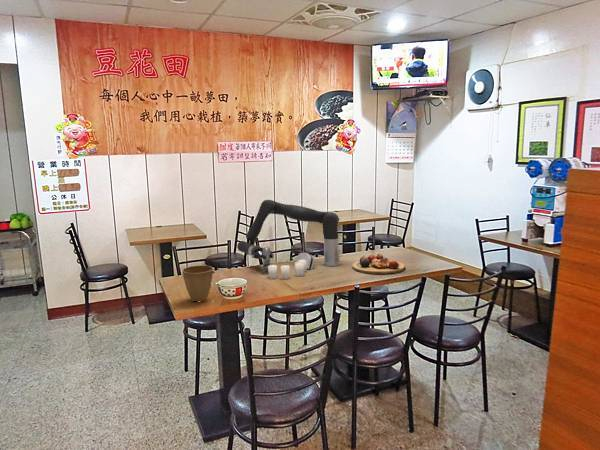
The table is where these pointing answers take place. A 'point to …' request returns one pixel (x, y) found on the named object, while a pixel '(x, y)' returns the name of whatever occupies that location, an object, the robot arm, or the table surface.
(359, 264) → the wooden plate with food
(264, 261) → the bushing
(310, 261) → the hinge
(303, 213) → the robot arm
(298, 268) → the spacer
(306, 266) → the spacer
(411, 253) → the table surface
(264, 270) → the mat
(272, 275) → the cylinder
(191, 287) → the plant pot
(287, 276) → the spacer
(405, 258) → the table surface
